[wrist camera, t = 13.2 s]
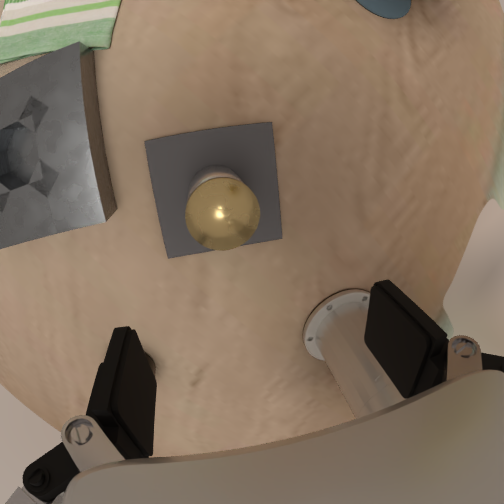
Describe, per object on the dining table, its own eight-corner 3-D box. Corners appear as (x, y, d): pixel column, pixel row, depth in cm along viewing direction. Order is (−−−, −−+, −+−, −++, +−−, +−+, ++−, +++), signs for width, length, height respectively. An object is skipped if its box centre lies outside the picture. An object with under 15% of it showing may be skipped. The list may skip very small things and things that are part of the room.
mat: (270, 122, 29) (271, 122, 28) (280, 236, 34) (282, 238, 34) (145, 141, 27) (144, 141, 27) (168, 256, 33) (168, 258, 32)
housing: (93, 51, 22) (79, 41, 18) (117, 209, 30) (105, 222, 26) (-26, 107, 20) (-47, 108, 16) (0, 240, 27) (-18, 254, 23)
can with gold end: (240, 160, 29) (256, 173, 22) (246, 213, 32) (263, 243, 24) (183, 169, 29) (179, 185, 21) (192, 222, 31) (192, 255, 24)
